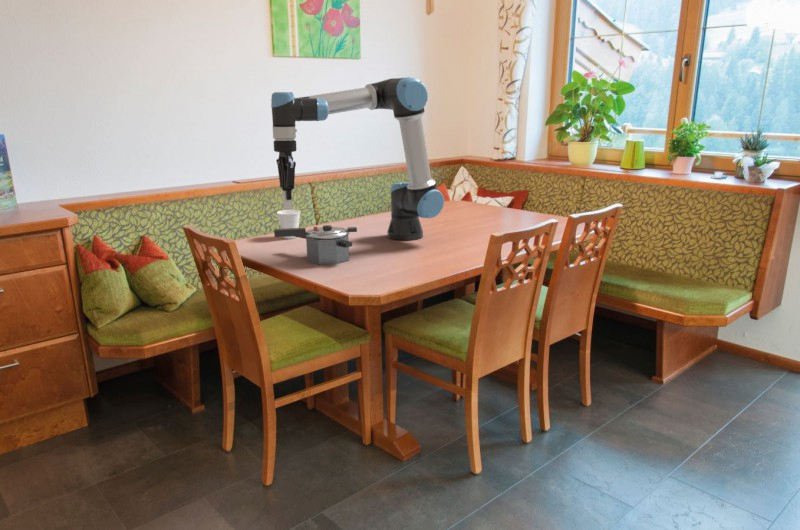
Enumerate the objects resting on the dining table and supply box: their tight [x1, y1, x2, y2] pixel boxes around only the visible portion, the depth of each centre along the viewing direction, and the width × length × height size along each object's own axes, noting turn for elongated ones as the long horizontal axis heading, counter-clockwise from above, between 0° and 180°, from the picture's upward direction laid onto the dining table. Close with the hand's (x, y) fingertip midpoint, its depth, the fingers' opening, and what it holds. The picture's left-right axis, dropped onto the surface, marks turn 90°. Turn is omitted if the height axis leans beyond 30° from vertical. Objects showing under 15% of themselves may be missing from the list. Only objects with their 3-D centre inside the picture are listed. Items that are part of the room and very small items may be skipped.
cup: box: [276, 209, 302, 240], centre depth 255 cm, size 10×10×11 cm
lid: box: [273, 224, 358, 239], centre depth 218 cm, size 29×16×3 cm, turn 100°
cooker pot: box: [295, 235, 353, 266], centre depth 223 cm, size 29×15×9 cm, turn 50°
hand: (288, 208), depth 210 cm, fingers closed
